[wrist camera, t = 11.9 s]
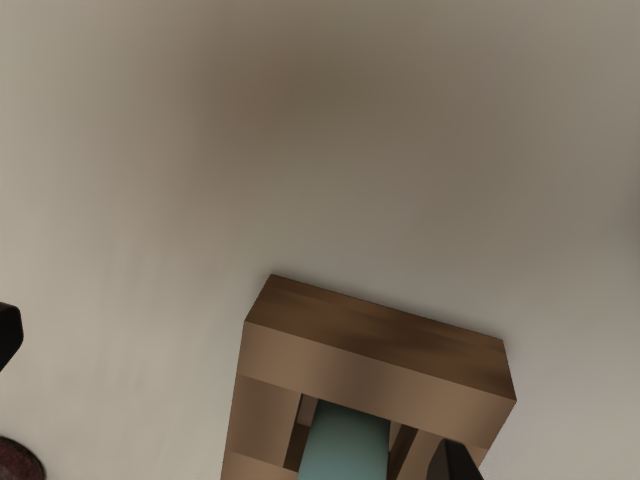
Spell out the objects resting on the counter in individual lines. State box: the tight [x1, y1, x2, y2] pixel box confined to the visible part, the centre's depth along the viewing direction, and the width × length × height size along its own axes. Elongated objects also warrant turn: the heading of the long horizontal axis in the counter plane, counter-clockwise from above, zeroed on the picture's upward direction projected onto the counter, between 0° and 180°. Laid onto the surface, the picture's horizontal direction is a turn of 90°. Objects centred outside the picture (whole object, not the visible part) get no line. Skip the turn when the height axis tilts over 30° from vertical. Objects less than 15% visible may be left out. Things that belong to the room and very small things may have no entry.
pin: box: [297, 398, 391, 480], centre depth 22 cm, size 4×4×8 cm
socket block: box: [220, 275, 517, 480], centre depth 24 cm, size 12×12×4 cm
